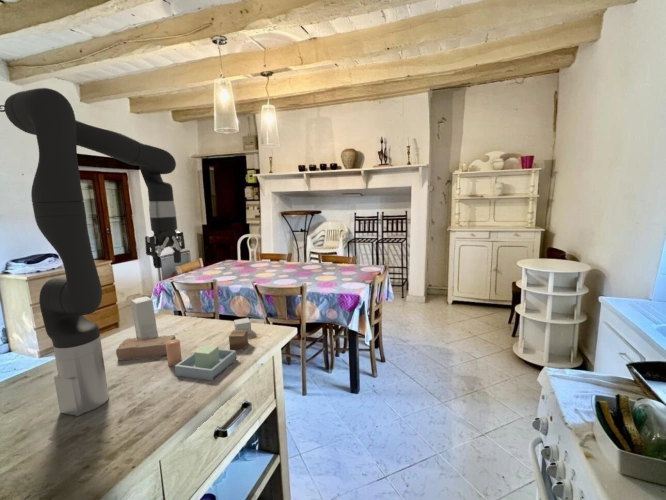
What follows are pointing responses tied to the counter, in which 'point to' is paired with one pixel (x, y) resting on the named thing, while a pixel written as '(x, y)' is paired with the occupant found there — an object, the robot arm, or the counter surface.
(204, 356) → the green block
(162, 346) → the brick
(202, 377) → the tray
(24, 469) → the counter surface
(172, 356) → the peach capsule
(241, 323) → the small box
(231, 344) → the walnut cube
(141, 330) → the skincare box
